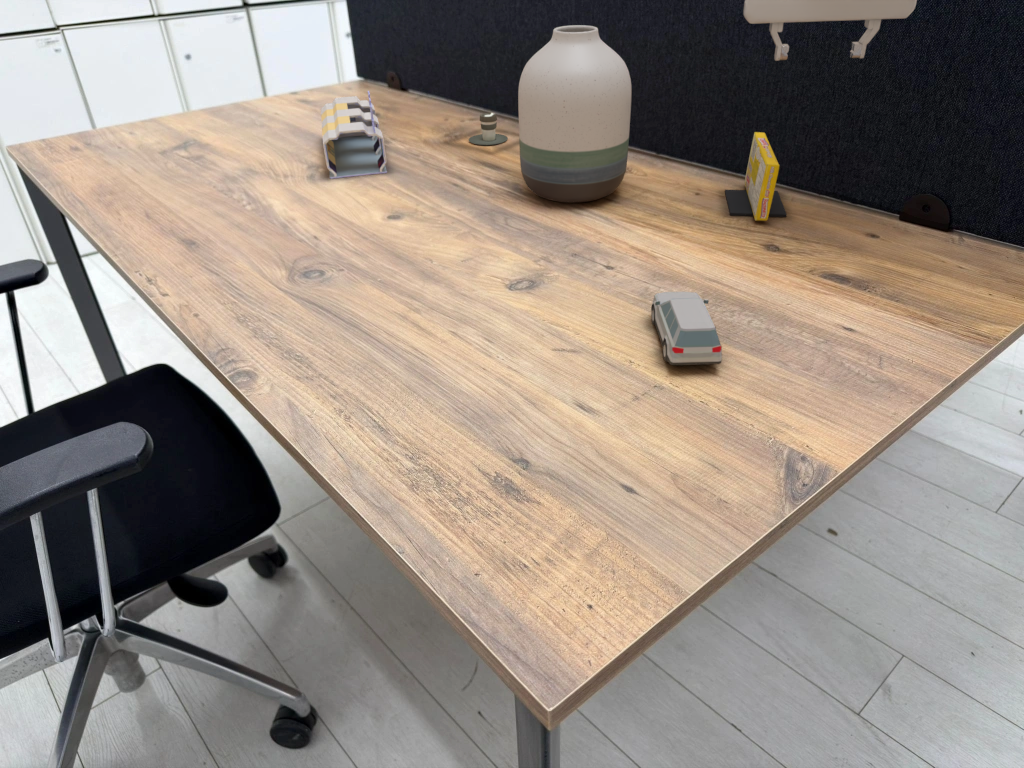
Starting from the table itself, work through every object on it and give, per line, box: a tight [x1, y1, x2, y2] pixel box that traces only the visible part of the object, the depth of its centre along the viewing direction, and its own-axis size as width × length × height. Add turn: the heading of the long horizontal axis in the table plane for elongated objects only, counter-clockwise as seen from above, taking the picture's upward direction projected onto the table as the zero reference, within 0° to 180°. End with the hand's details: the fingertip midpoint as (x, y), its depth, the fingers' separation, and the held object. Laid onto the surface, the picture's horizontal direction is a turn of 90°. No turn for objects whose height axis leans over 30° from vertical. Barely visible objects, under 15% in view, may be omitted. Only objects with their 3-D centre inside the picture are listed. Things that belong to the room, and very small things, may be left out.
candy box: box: [743, 131, 781, 222], centre depth 107 cm, size 16×2×8 cm, turn 171°
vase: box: [517, 24, 633, 204], centre depth 110 cm, size 17×17×24 cm
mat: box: [724, 189, 788, 218], centre depth 110 cm, size 8×10×1 cm
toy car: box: [650, 291, 723, 366], centre depth 76 cm, size 6×13×5 cm, turn 0°
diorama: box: [320, 90, 388, 179], centre depth 133 cm, size 25×10×13 cm, turn 13°
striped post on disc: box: [468, 112, 509, 146], centre depth 141 cm, size 12×12×5 cm
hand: (818, 58), depth 95 cm, fingers open, 8 cm apart
